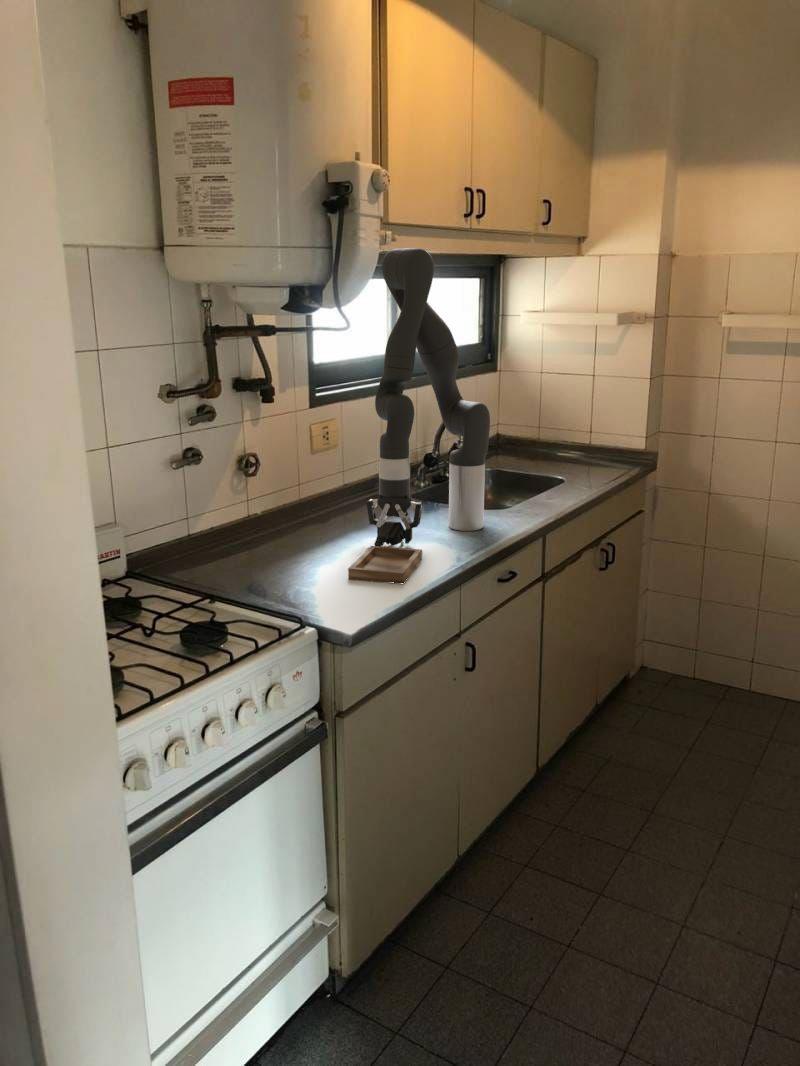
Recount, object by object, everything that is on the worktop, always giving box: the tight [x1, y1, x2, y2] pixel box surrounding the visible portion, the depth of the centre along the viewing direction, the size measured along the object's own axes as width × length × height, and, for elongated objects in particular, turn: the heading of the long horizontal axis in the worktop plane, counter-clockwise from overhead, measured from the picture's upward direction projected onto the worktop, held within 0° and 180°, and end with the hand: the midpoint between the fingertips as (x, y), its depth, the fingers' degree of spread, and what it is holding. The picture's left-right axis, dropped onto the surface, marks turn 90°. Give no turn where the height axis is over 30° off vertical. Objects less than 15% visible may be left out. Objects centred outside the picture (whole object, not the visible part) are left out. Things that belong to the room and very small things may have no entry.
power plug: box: [373, 520, 406, 547], centre depth 207 cm, size 6×8×12 cm
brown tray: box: [347, 545, 423, 584], centre depth 192 cm, size 17×12×2 cm
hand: (394, 541), depth 210 cm, fingers closed on power plug, 6 cm apart
